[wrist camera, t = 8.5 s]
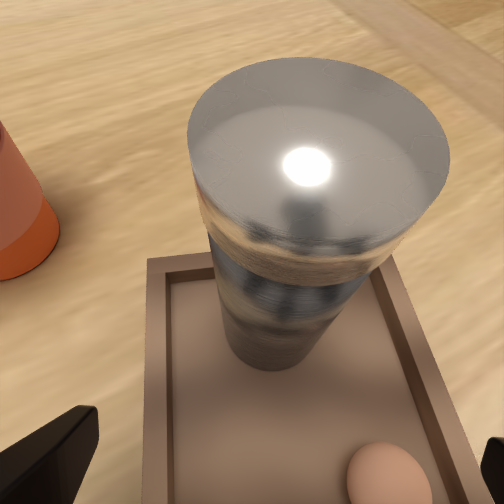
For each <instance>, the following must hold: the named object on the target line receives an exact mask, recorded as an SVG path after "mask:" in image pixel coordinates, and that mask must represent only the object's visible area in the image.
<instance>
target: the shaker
mask: <svg viewBox="0 0 504 504" xmlns="http://www.w3.org/2000/svg"><path fill="white" fill-rule="evenodd" d="M187 140H188V149H189V154H190V159H191V165H192V170H193V175H194V181H195V186H196V192H197V197H198V202H199V208H200V212H201V216H202V219H203V222H204V224H205V226H206V229H207V231H208V237H209V243H210V248H211V254H212V260H213V266H214V272H215V278H216V284H217V290H218V296H219V302H220V307H221V313H222V319H223V325H224V331H225V335H226V339H227V342H228V344H229V346H230V348H231V349H232V351H233V352H234V353H235V355H236V356H237V357H238V358H239V359H240V360H242V361H243V362H244V363H245V364H247V365H249V366H251V367H253V368H255V369H258V370H262V371H269V372H274V371H282V370H286V369H289V368H291V367H293V366H295V365H297V364H298V363H300V362H301V361H302V360H303V359H304V358H305V357H306V356H307V355H308V354H309V352H310V351H311V350H312V348H313V347H314V346H315V345H316V343H317V342H318V341H319V339H320V338H321V337H322V336H323V334H324V333H325V332H326V330H327V329H328V328H329V326H330V325H331V324H332V323H333V321H334V320H335V319H336V317H337V316H338V315H339V314H340V312H341V311H342V310H343V308H344V307H345V306H346V305H347V303H348V302H349V301H350V299H351V298H352V297H353V295H354V294H355V293H356V292H357V290H358V289H359V288H360V286H361V285H362V284H363V283H364V281H365V280H366V279H367V277H368V276H369V275H370V274H371V272H372V271H373V270H374V269H375V268H377V267H378V266H379V265H380V264H381V263H383V262H384V261H385V260H386V259H387V258H388V257H389V256H390V254H391V253H392V252H393V251H394V250H395V249H396V247H397V246H398V245H399V244H400V242H401V241H402V240H403V239H404V237H405V236H406V235H407V234H408V232H409V231H410V230H411V229H412V227H413V226H414V225H415V224H416V222H417V221H418V220H419V219H420V217H421V216H422V215H423V214H424V212H425V211H426V210H427V209H428V208H429V206H430V205H431V204H432V203H433V201H434V200H435V199H436V198H437V196H438V195H439V193H440V191H441V190H442V188H443V186H444V185H445V182H446V179H447V176H448V173H449V166H450V152H449V146H448V142H447V138H446V135H445V133H444V131H443V129H442V127H441V125H440V123H439V122H438V120H437V119H436V117H435V116H434V114H433V113H432V112H431V111H430V110H429V109H428V107H427V106H426V105H425V104H424V103H423V102H422V101H421V100H420V99H418V98H417V97H416V96H415V95H414V94H412V93H411V92H410V91H408V90H407V89H406V88H404V87H403V86H401V85H399V84H398V83H396V82H395V81H393V80H391V79H389V78H387V77H385V76H383V75H381V74H379V73H376V72H374V71H371V70H369V69H366V68H363V67H360V66H357V65H354V64H349V63H345V62H341V61H335V60H329V59H321V58H306V57H295V58H281V59H274V60H268V61H263V62H259V63H255V64H252V65H249V66H246V67H243V68H241V69H238V70H236V71H234V72H232V73H230V74H228V75H226V76H225V77H223V78H221V79H220V80H219V81H217V82H216V83H214V84H213V85H212V86H211V87H210V88H209V89H208V90H207V91H206V92H205V93H204V94H203V95H202V96H201V98H200V99H199V100H198V101H197V103H196V105H195V107H194V109H193V111H192V113H191V116H190V119H189V122H188V130H187Z"/></svg>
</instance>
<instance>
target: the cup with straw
mask: <svg viewBox="0 0 504 504" xmlns="http://www.w3.org/2000/svg"><path fill="white" fill-rule="evenodd" d="M58 236H59V222H58V219H57V217H56V215H55V213H54V212H53V210H52V208H51V207H50V205H49V204H48V202H47V200H46V199H45V197H44V196H43V194H42V189H41V186H40V184H39V182H38V180H37V179H36V177H35V175H34V174H33V172H32V171H31V169H30V167H29V166H28V164H27V163H26V161H25V159H24V158H23V156H22V155H21V153H20V151H19V150H18V148H17V147H16V145H15V143H14V142H13V140H12V139H11V137H10V135H9V134H8V132H7V131H6V129H5V127H4V126H3V124H2V123H1V121H0V280H6V279H10V278H14V277H17V276H19V275H22V274H24V273H26V272H28V271H30V270H31V269H33V268H34V267H36V266H37V265H38V264H40V263H41V262H42V261H43V260H44V259H45V258H46V257H47V256H48V255H49V254H50V252H51V251H52V249H53V248H54V246H55V244H56V242H57V240H58Z"/></svg>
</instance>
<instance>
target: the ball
mask: <svg viewBox="0 0 504 504" xmlns="http://www.w3.org/2000/svg"><path fill="white" fill-rule="evenodd" d="M347 490H348V494H349V498H350V501H351V503H352V504H432V492H431V488H430V484H429V482H428V479H427V477H426V475H425V473H424V471H423V469H422V468H421V466H420V465H419V464H418V462H417V461H416V460H415V459H414V458H413V457H412V456H411V455H410V454H409V453H408V452H406V451H405V450H403V449H402V448H400V447H398V446H396V445H394V444H391V443H386V442H373V443H369V444H367V445H364V446H363V447H361V448H360V449H359V450H358V451H357V452H356V453H355V454H354V455H353V457H352V459H351V460H350V463H349V466H348V470H347Z"/></svg>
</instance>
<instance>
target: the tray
mask: <svg viewBox="0 0 504 504" xmlns="http://www.w3.org/2000/svg"><path fill="white" fill-rule="evenodd" d="M373 442H386V443H391V444H394V445H396V446H398V447H400V448H402V449H403V450H405V451H406V452H408V453H409V454H410V455H411V456H412V457H413V458H414V459H415V460H416V461H417V462H418V464H419V465H420V466H421V468H422V469H423V471H424V473H425V475H426V477H427V479H428V482H429V484H430V488H431V492H432V504H494V503H493V500H492V498H491V495H490V493H489V490H488V488H487V486H486V484H485V482H484V480H483V477H482V474H481V471H480V469H479V466H478V464H477V461H476V459H475V456H474V454H473V452H472V449H471V447H470V444H469V442H468V439H467V437H466V434H465V432H464V430H463V427H462V425H461V422H460V420H459V417H458V415H457V413H456V410H455V408H454V405H453V403H452V400H451V398H450V396H449V393H448V391H447V388H446V386H445V383H444V381H443V379H442V376H441V374H440V371H439V369H438V366H437V364H436V361H435V359H434V357H433V354H432V352H431V349H430V347H429V344H428V342H427V340H426V337H425V335H424V332H423V330H422V327H421V325H420V323H419V320H418V318H417V315H416V313H415V310H414V308H413V305H412V303H411V301H410V298H409V296H408V293H407V291H406V288H405V286H404V284H403V281H402V279H401V276H400V274H399V271H398V269H397V267H396V264H395V262H394V259H393V257H392V254H390V256H389V257H388V258H387V259H386V260H385V261H384V262H383V263H381V264H380V265H379V266H378V267H377V268H375V269H374V270H373V271H372V272H371V274H370V275H369V276H368V277H367V279H366V280H365V281H364V283H363V284H362V285H361V286H360V288H359V289H358V290H357V292H356V293H355V294H354V295H353V297H352V298H351V299H350V301H349V302H348V303H347V305H346V306H345V307H344V308H343V310H342V311H341V312H340V314H339V315H338V316H337V317H336V319H335V320H334V321H333V323H332V324H331V325H330V326H329V328H328V329H327V330H326V332H325V333H324V334H323V336H322V337H321V338H320V339H319V341H318V342H317V343H316V345H315V346H314V347H313V348H312V350H311V351H310V352H309V354H308V355H307V356H306V357H305V358H304V359H303V360H302V361H301V362H300V363H298V364H297V365H295V366H293V367H291V368H289V369H286V370H282V371H274V372H269V371H262V370H258V369H255V368H253V367H251V366H249V365H247V364H245V363H244V362H243V361H242V360H240V359H239V358H238V357H237V356H236V355H235V353H234V352H233V351H232V349H231V348H230V346H229V344H228V342H227V339H226V335H225V331H224V325H223V319H222V313H221V307H220V302H219V296H218V290H217V284H216V278H215V272H214V266H213V260H212V254H211V252H205V253H196V254H186V255H177V256H168V257H159V258H149V259H147V286H146V332H145V377H144V423H143V468H142V504H352V503H351V501H350V498H349V494H348V490H347V470H348V466H349V463H350V460H351V459H352V457H353V455H354V454H355V453H356V452H357V451H358V450H359V449H360V448H361V447H363V446H364V445H367V444H369V443H373Z"/></svg>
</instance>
